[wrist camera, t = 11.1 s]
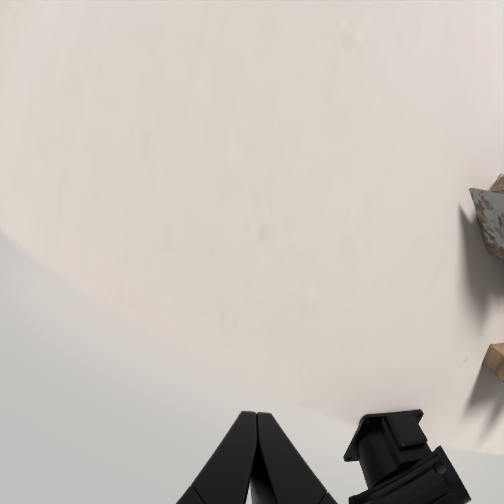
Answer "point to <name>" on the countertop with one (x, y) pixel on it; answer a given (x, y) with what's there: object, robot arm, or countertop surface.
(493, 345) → the cradle
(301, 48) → the countertop surface
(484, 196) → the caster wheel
